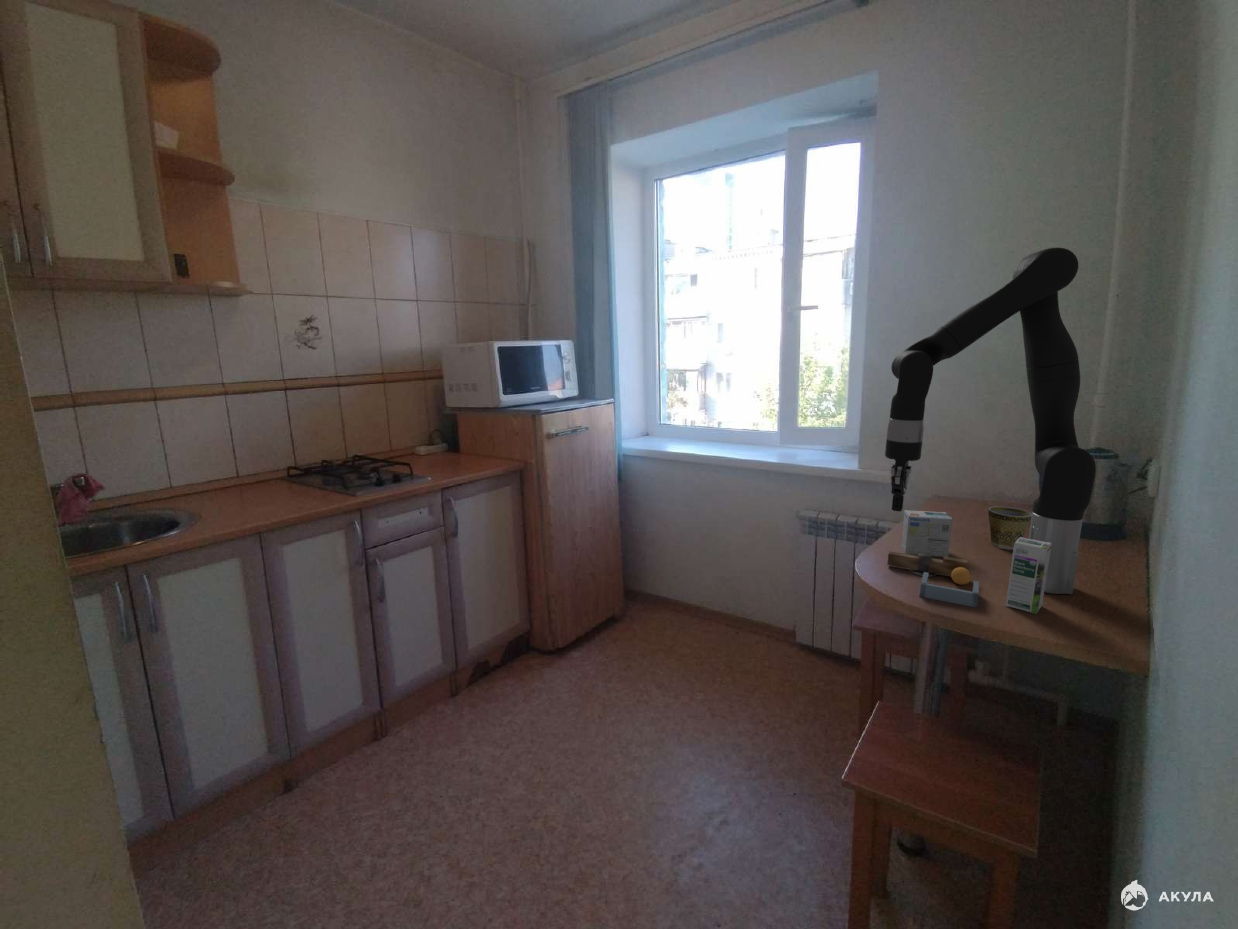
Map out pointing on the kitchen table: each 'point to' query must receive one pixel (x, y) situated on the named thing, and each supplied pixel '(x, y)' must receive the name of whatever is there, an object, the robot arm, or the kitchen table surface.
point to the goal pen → (949, 593)
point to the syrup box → (1028, 574)
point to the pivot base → (922, 573)
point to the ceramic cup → (1007, 525)
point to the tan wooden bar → (926, 563)
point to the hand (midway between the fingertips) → (897, 510)
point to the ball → (961, 575)
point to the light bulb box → (926, 533)
